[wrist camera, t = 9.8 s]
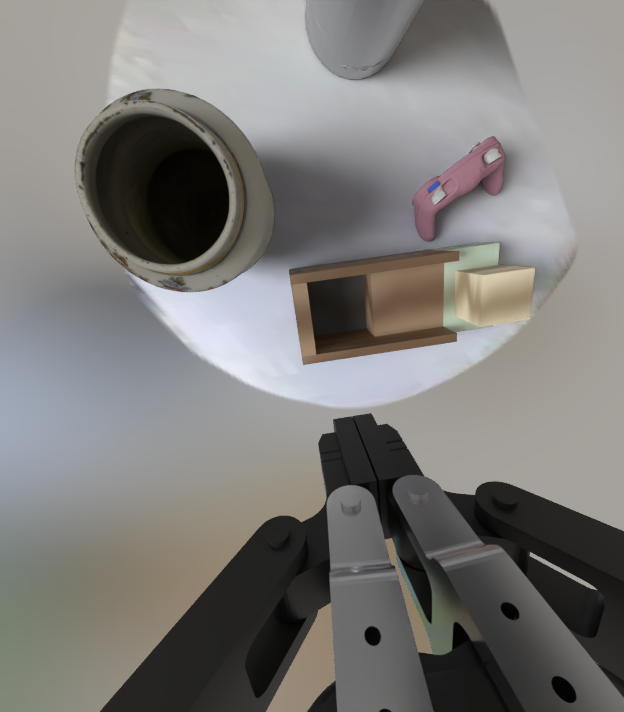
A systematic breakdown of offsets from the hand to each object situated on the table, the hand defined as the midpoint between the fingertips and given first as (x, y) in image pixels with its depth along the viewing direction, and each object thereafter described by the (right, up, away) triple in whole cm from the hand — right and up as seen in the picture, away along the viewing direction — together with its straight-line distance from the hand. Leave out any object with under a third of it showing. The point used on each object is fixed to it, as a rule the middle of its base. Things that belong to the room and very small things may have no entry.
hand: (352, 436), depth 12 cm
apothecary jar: (-12, +18, +21) cm, 30 cm away
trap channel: (+7, +11, +26) cm, 29 cm away
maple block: (+17, +10, +22) cm, 30 cm away
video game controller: (+13, +21, +23) cm, 34 cm away
